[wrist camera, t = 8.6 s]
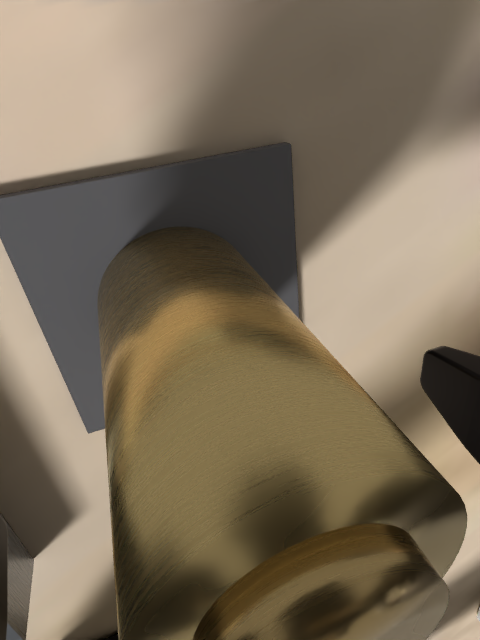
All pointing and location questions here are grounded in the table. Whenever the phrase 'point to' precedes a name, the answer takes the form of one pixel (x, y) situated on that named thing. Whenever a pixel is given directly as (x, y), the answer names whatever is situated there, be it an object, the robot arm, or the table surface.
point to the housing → (18, 586)
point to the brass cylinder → (255, 465)
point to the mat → (129, 224)
